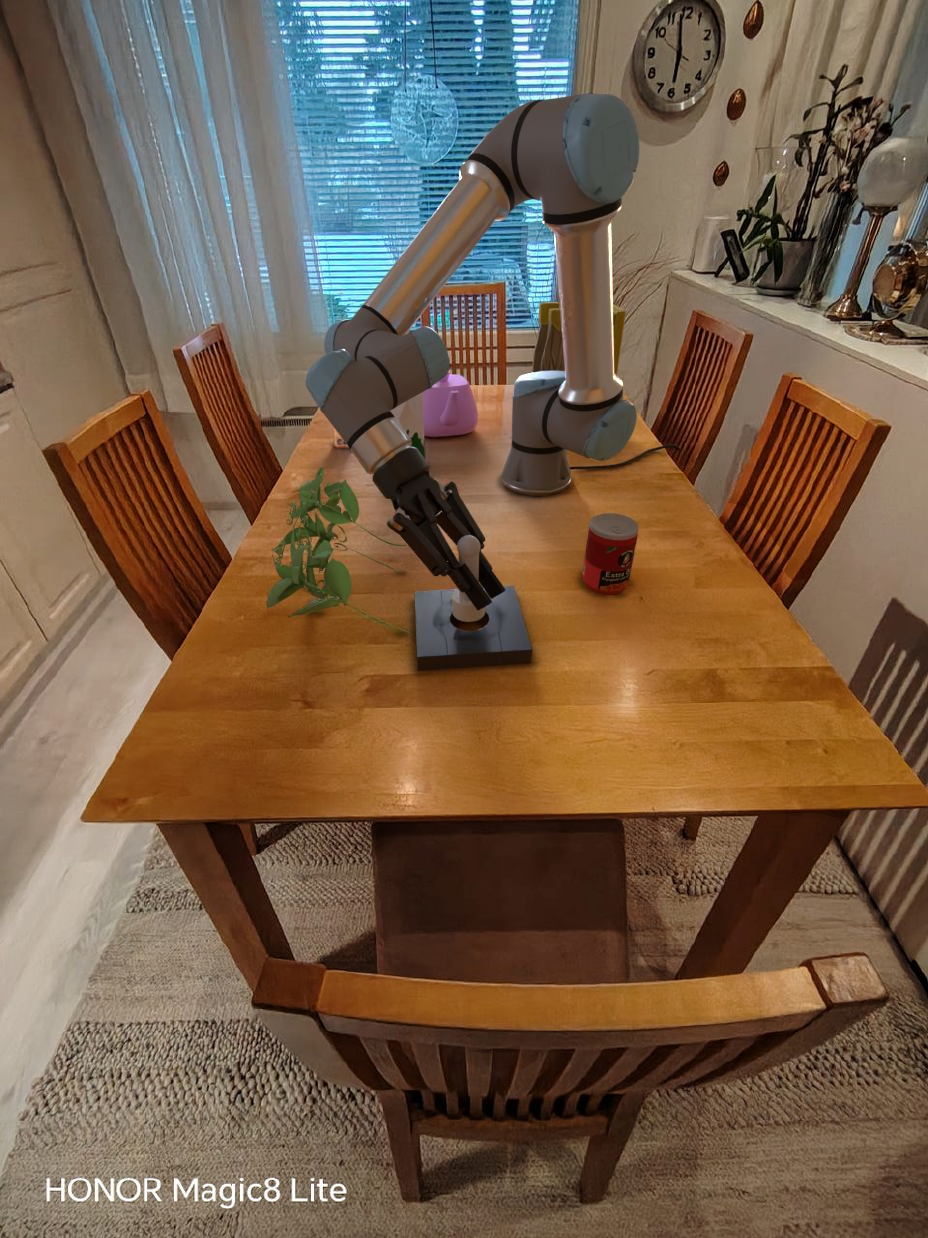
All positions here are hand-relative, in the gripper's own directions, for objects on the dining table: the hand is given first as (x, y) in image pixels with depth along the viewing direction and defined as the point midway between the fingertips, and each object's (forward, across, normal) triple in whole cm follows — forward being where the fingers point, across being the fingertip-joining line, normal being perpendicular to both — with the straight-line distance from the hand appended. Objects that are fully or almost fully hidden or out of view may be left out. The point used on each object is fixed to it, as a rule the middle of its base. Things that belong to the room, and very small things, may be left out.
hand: (491, 600), depth 83 cm
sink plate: (+3, 0, -8) cm, 8 cm away
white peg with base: (0, 0, -5) cm, 5 cm away
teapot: (-36, -68, -46) cm, 90 cm away
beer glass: (-47, -46, -57) cm, 87 cm away
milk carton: (-30, -41, -41) cm, 65 cm away
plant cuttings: (-11, +5, -22) cm, 26 cm away
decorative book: (-17, -87, -27) cm, 93 cm away
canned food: (+11, -24, 0) cm, 26 cm away
